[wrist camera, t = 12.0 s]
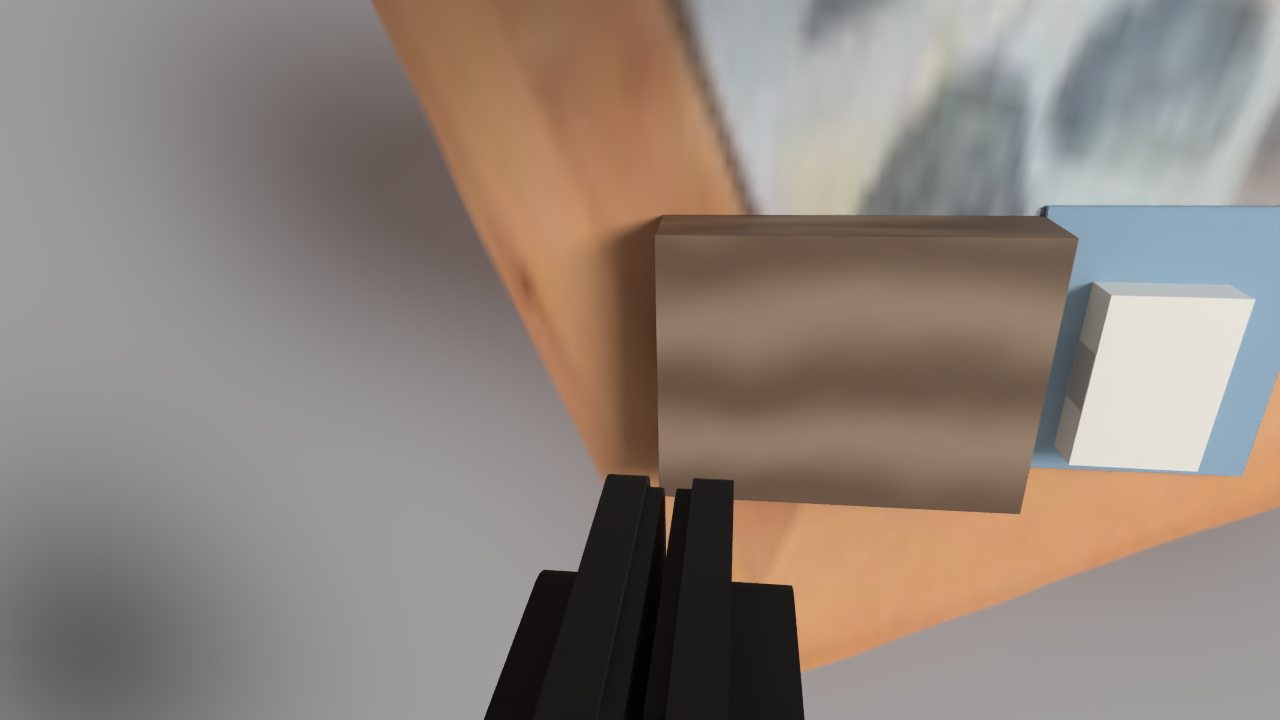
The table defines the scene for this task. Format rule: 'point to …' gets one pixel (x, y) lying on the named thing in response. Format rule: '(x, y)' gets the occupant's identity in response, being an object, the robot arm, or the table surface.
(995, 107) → the table surface
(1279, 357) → the mat
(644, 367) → the table surface
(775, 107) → the table surface
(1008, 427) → the brown wooden block
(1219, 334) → the off-white flat slab
